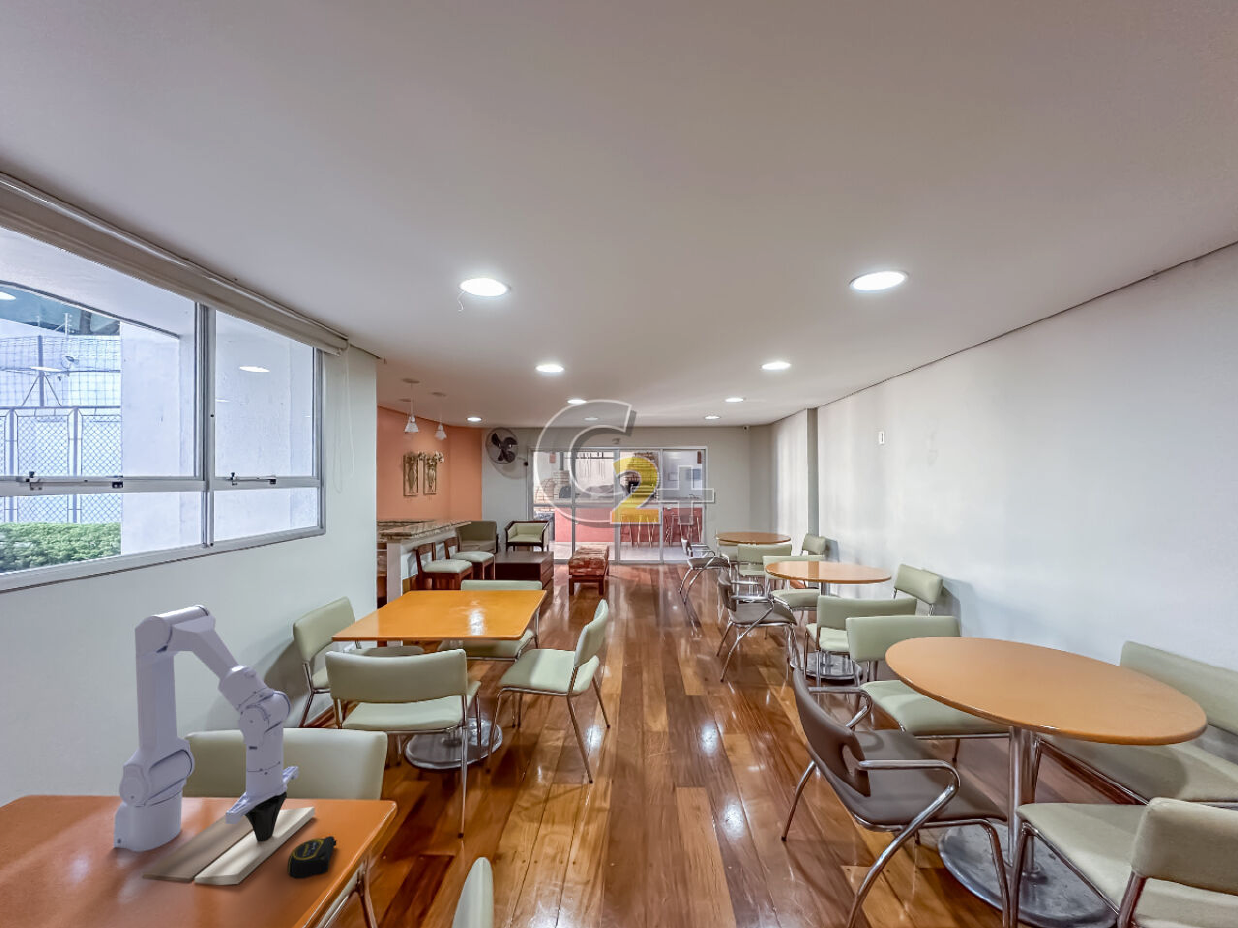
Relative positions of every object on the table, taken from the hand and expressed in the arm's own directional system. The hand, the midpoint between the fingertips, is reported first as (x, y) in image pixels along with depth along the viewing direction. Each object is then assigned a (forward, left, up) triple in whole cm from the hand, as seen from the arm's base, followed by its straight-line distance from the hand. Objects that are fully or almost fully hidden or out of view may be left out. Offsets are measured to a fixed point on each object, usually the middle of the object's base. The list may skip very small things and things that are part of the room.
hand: (264, 838), depth 93 cm
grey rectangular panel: (-10, 0, -2) cm, 11 cm away
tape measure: (+12, -2, -3) cm, 13 cm away
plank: (-1, 0, -2) cm, 2 cm away
